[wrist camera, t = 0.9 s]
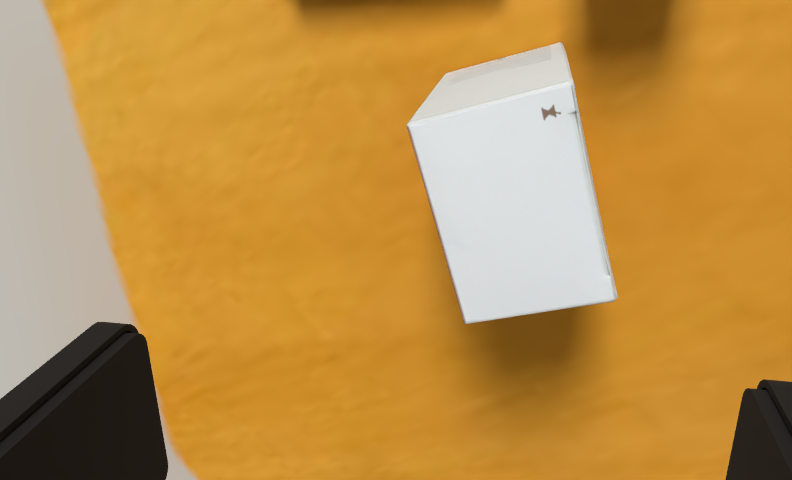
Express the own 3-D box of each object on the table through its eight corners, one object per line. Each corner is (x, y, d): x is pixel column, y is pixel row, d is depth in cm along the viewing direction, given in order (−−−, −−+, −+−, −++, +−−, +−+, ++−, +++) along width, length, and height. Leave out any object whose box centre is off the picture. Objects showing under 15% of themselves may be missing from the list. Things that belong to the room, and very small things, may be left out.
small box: (443, 71, 32) (400, 117, 23) (564, 39, 31) (573, 73, 21) (484, 228, 35) (460, 330, 25) (597, 205, 33) (619, 305, 23)
